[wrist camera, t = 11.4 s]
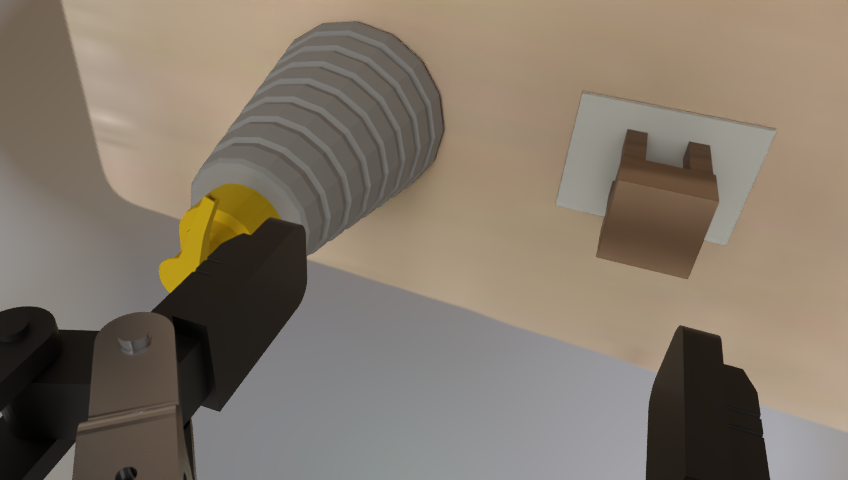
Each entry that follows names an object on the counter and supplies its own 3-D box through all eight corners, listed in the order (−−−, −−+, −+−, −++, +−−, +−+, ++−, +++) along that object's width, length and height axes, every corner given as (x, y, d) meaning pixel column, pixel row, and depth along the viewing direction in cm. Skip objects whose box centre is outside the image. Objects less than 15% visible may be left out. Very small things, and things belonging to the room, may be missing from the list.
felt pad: (583, 90, 39) (582, 93, 39) (775, 128, 37) (776, 131, 36) (556, 202, 44) (555, 205, 43) (725, 242, 41) (726, 245, 41)
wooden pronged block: (626, 127, 39) (618, 180, 33) (712, 144, 38) (719, 201, 32) (606, 197, 42) (596, 257, 36) (685, 215, 41) (687, 279, 35)
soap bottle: (478, 84, 41) (352, 265, 25) (400, 219, 48) (264, 425, 32) (309, -19, 41) (71, 95, 24) (257, 133, 48) (50, 297, 32)
